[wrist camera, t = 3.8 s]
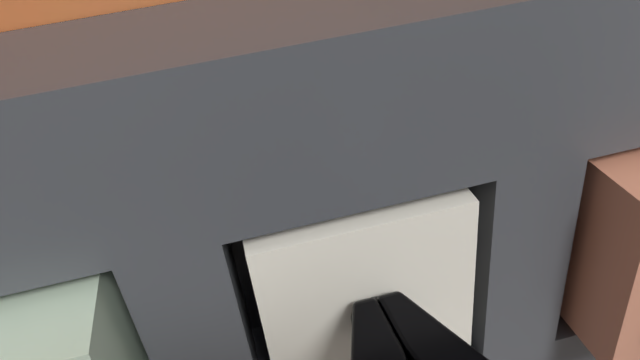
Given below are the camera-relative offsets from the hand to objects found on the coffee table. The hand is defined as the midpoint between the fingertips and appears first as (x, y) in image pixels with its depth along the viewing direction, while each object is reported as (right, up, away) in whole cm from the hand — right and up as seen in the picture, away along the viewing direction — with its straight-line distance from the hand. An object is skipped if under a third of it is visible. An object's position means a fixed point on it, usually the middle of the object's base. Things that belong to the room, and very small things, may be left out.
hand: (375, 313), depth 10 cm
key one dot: (-1, +1, +2) cm, 3 cm away
